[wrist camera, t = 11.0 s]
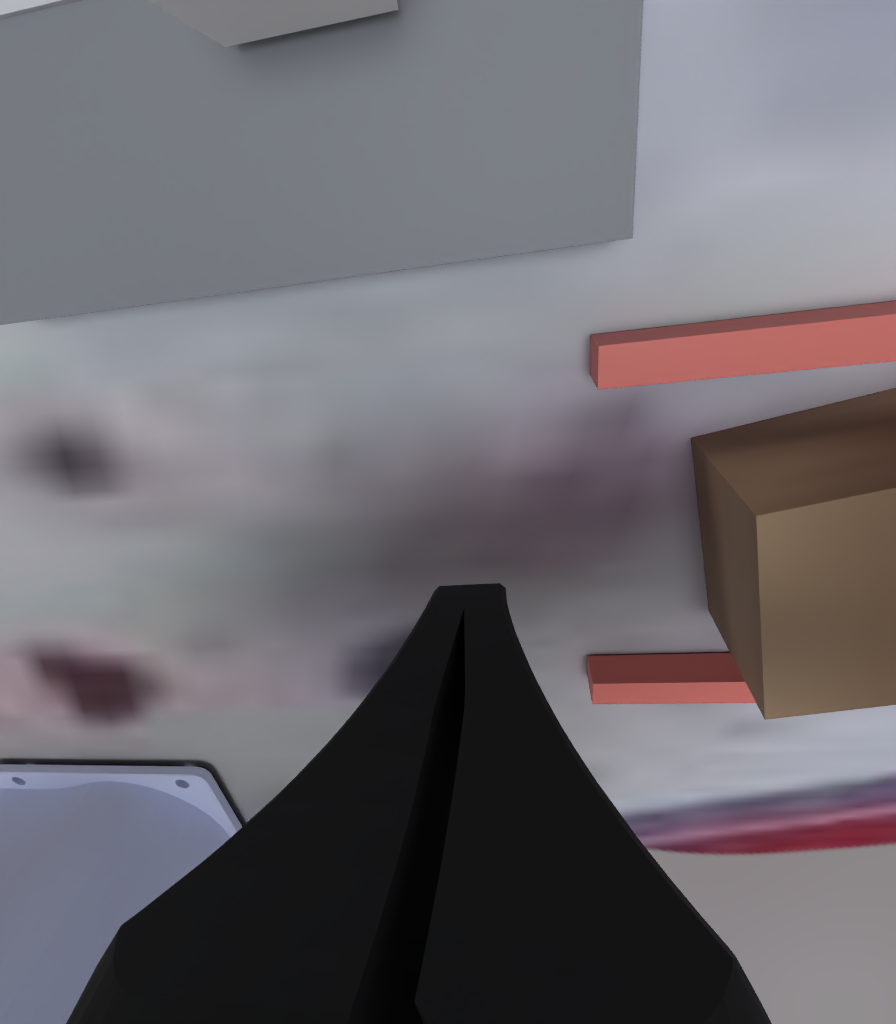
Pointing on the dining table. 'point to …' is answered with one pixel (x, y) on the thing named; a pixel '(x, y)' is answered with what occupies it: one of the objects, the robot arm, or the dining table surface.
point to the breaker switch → (267, 16)
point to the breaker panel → (303, 146)
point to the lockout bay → (707, 356)
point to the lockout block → (805, 553)
